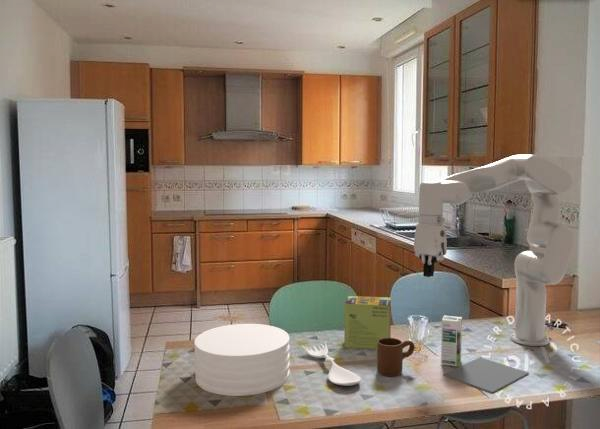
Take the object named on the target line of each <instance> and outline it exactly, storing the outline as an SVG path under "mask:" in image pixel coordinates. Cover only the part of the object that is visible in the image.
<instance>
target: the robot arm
mask: <svg viewBox="0 0 600 429" xmlns="http://www.w3.org/2000/svg"><path fill="white" fill-rule="evenodd" d="M518 181H519V182H520V181H524V183H525V187H526V188H527V189H528V191H529V193H530V194H531V196H532V199H533V202H534V205H533V210H532V211H533V212H532V214H531V215H532V216H531V218H530V222H529V226H528V230H527V234H526V241H527V243H528V244H529V245H530V246H532V247H534V248H537V249H540V250H545V251H544V253H543V252H539V251H535V250H525V251H524V250H523V251H521V252H520V253H518V255H517V256H515V257H516V258H515V260H514V273H515V278H516V296H515V297H516V298H515V299H516V301H515V327H514V328H515V329H514V332H512V333H510V336H509V338H510V340H512V341H513V342H514V343H517V344H520V345H523V346H528V347H542V346H547V345H549V344H550V338H549V337H548V336H547V335H545V334H546V333H545V332H546V331H548V330H549V326H548V325H546V317H547V315H546V314H547V288H546V285H557V284H558V283H560V282H561V281H562V280H563V278H564V277H565V276H566V273H567V270H568V266H569V263H570V259H571V255H572V254H573V248H574V245H575V235H574V233H573V230H572V228H570V227H569V226H568V225H566V224H564V223H563V224H562V223H559V221H560V217H561V213H562V204H561V200H560V198H559V196H563V195H565V194H567V193H569V191H570V190H571V189H572V187H573V184H574V182H573V176H572V175H571V173H570V172H569V171H568V170H566V169H565V168H563V167H561V166H559V165H557V164H556V163H554V162H553V161H550V160H549V159H547V158H545V157H543V156H540V155H539V154H538V155H537V154H533V153H532V154H528V153H527V154H515V155H511V156H509V157H508V156H507V157H505V158H503V159H500V160H498V161H494V162H493V163H492V162H491V163H489V164H486V165H484V166H481V167H480V166H479V167H476V168H473V169H469V170H467V171H462V172H458V173H455V174H452V175H450V176H446V177H444V178H441V179H439V180H437V181H434V180H433V181H432V180H431V181H430V180H429V181H425V180H424V181H422V182H420V184H419V190H418V191H419V192H418V218H417V219H418V220H417V223H416V227H415V230H414V238H413V251H414V256H416V257H418V258H419V259H420V260H421V264H423V269H422V270H423V277H426V278H430V277H434V273H435V265H437V264H436V263H437V262H438V261H444V260H445V256H446V255H447V248H448V246H447V245H448V244H447V242H448V241H447V239H448V238H447V230H446V226H445V224H443V223H445V221H446V218H445V217H443V216H444V214H443V211H444V204H448V205H449V204H450V205H462V204H464V203H466V202H467V201H468V200H469V198H470V196H471V193H483V192H484V193H485V192H492V191H495V190H497V189H501V188H503V187H506V186H508V185H511V184H513V183H515V182H518Z"/></svg>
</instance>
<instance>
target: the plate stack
mask: <svg viewBox="0 0 600 429" xmlns="http://www.w3.org/2000/svg"><path fill="white" fill-rule="evenodd" d="M193 345H194V364H195V367H194V371H195V383H196V384H197V386H199V388H201V389H203V390H204V391H206V392H208V393H213V394H217V395H222V396H228V397H229V396H233V397H235V396H236V397H237V396H238V397H245V396H251V395H252V396H253V395H258V394H262V393H267V392H270V391H273V390H275V389H277V388H280V387H282V385H284V384H286V382H288V380H289V378H290V375H291V370H290V367H291V366H290V365H291V363H290V362H291V361H290V359H291V358H290V356H291V355H290V353H291V352H290V348H291V346H290V335H289V334H288V332H286V331H285V330H284V329H282V328H280V327H277V326H273V325H268V324H262V323H261V324H259V323H236V324H227V325H221V326H218V327H212V328H210V329H208V330H205V331H203V332H201V333H200V334H199V335H197V336H196V338H195V339H194V344H193Z"/></svg>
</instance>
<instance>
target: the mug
mask: <svg viewBox="0 0 600 429" xmlns="http://www.w3.org/2000/svg"><path fill="white" fill-rule="evenodd" d="M407 346H409V347H408V350H406V351H403V350H404V348H406V347H407ZM415 348H416V346H415V343H414V342H413V341H412V340H410V339H407V340H404V341H402V340H401V339H398V338H395V337H390V338H382V339H379V340H378V343H377V349H376V371H377V372H378V374H380V375H382V376H385V377H397V376H399V375H401V374H402V373H403V364H404V363H403V360H405V358H408V357H410V356H412V354H413V353H414V351H415Z"/></svg>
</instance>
